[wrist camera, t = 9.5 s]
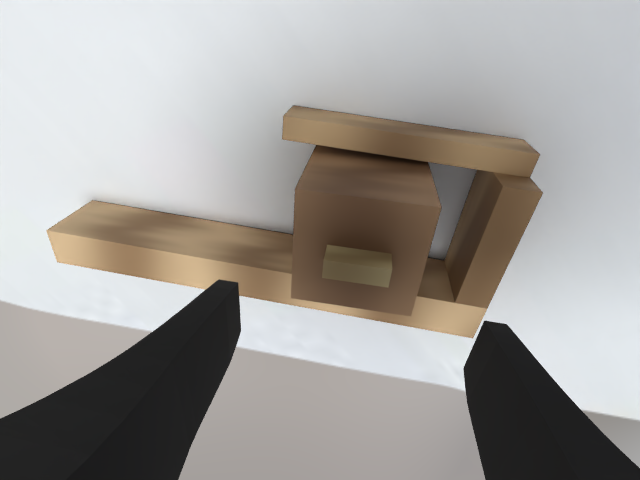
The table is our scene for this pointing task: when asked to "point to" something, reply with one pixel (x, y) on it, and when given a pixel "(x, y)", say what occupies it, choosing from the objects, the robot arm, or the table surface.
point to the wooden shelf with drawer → (276, 248)
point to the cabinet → (362, 230)
